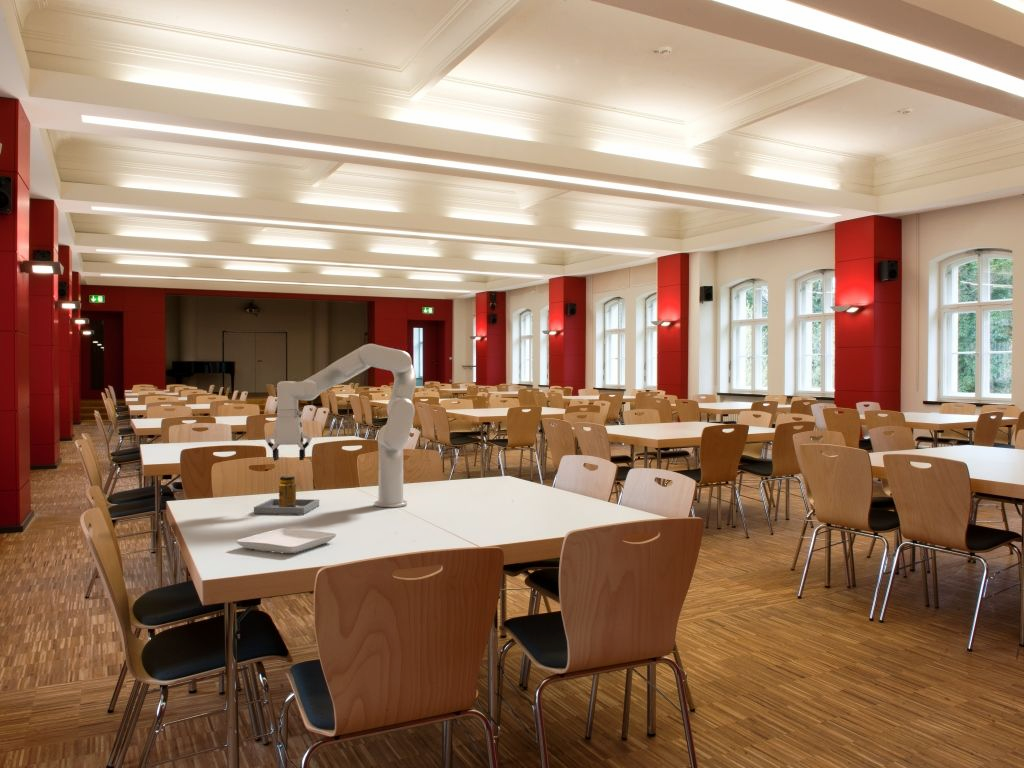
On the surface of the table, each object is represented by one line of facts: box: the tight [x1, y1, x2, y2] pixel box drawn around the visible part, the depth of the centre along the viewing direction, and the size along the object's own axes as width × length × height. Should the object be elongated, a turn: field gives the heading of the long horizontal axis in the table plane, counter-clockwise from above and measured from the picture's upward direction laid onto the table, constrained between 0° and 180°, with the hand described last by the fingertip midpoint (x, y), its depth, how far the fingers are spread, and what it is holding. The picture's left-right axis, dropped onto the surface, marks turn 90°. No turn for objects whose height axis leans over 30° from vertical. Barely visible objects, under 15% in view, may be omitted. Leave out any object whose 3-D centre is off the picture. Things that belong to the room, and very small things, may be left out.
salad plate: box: [235, 527, 337, 554], centre depth 228 cm, size 21×21×3 cm
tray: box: [253, 498, 320, 516], centre depth 287 cm, size 18×18×2 cm
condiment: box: [278, 475, 299, 507], centre depth 287 cm, size 7×8×12 cm
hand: (289, 460), depth 287 cm, fingers open, 9 cm apart
